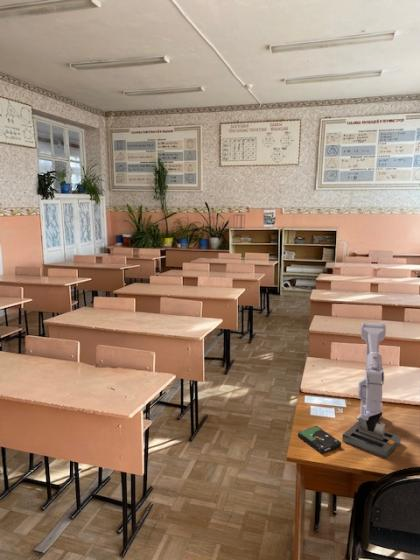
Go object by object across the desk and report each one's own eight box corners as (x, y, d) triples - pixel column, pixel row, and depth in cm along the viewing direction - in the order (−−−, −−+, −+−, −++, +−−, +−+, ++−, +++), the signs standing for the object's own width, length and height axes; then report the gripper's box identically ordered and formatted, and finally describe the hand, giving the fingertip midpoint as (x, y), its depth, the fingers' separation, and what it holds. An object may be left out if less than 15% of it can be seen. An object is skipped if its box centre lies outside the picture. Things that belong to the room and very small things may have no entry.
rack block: (357, 427, 184) (357, 420, 184) (400, 443, 172) (400, 436, 171) (342, 441, 174) (342, 433, 174) (386, 458, 162) (387, 450, 161)
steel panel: (360, 431, 177) (360, 415, 176) (384, 440, 170) (385, 423, 169) (358, 433, 176) (358, 417, 174) (382, 441, 169) (383, 425, 168)
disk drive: (341, 448, 170) (316, 430, 183) (341, 442, 170) (316, 424, 183) (321, 455, 166) (297, 437, 178) (322, 449, 165) (297, 431, 178)
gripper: (371, 389, 178) (369, 419, 180) (355, 401, 167) (354, 433, 170) (388, 394, 173) (386, 425, 175) (373, 407, 162) (371, 439, 165)
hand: (371, 429), depth 172 cm, fingers closed on steel panel, 2 cm apart
